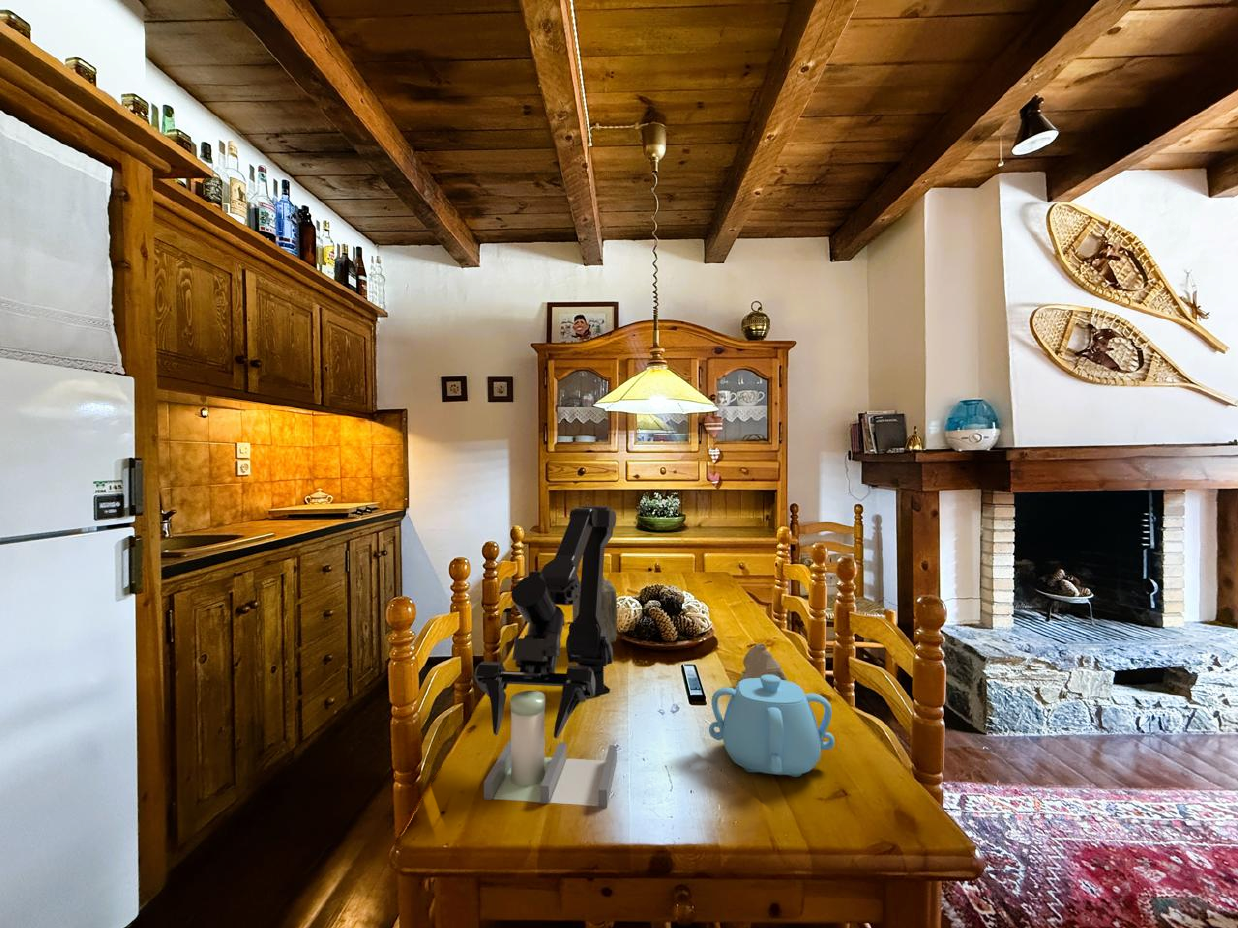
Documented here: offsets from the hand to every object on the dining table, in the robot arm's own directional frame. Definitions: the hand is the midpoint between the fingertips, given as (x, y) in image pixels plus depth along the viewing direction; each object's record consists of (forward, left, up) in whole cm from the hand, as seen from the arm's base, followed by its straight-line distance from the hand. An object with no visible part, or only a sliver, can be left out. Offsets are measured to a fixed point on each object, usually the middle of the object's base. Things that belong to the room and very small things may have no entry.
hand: (525, 735), depth 82 cm
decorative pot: (+11, +38, -8) cm, 41 cm away
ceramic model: (-10, +56, -8) cm, 58 cm away
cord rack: (+1, +4, -8) cm, 9 cm away
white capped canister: (-1, +1, -7) cm, 7 cm away
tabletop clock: (-49, +35, -8) cm, 61 cm away
